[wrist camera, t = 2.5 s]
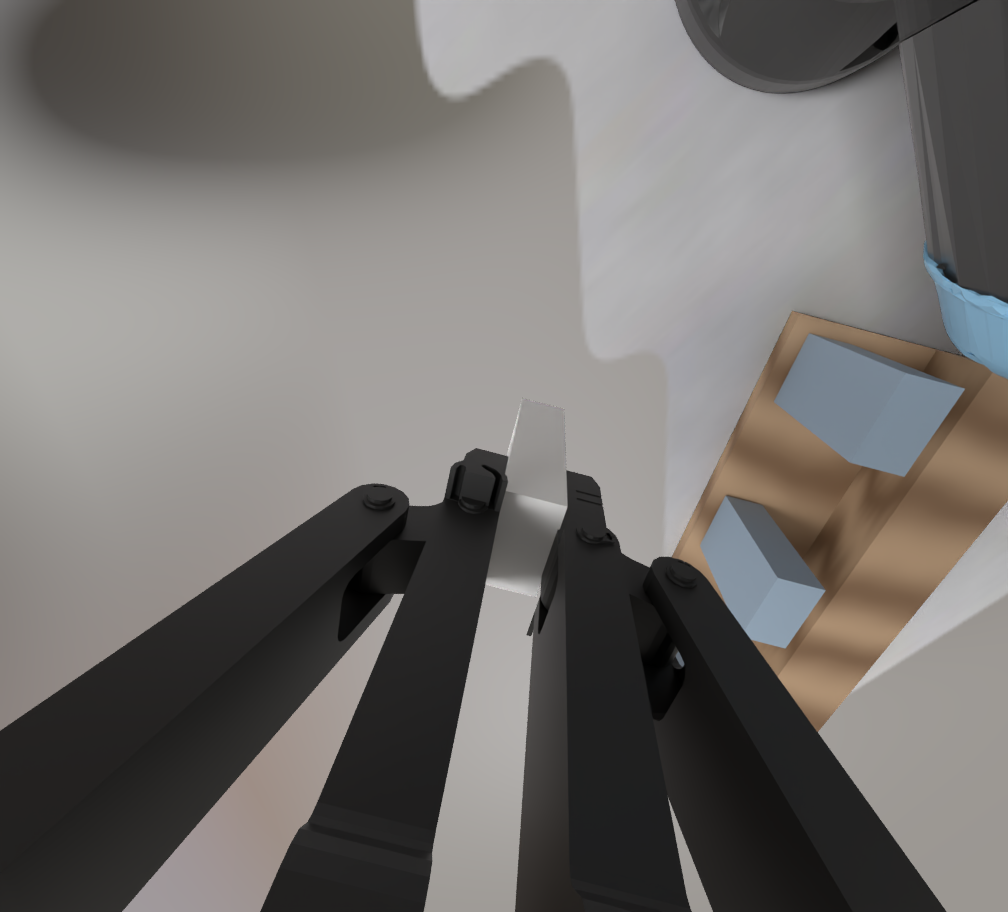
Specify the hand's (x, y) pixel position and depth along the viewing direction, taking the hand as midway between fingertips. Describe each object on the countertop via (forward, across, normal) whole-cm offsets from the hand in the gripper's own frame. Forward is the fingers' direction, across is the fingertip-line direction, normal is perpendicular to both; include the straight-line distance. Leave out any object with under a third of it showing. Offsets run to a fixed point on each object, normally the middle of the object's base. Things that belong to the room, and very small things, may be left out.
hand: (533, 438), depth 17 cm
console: (+20, +24, -11) cm, 33 cm away
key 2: (+19, +18, +2) cm, 27 cm away
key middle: (+19, +18, -11) cm, 29 cm away
